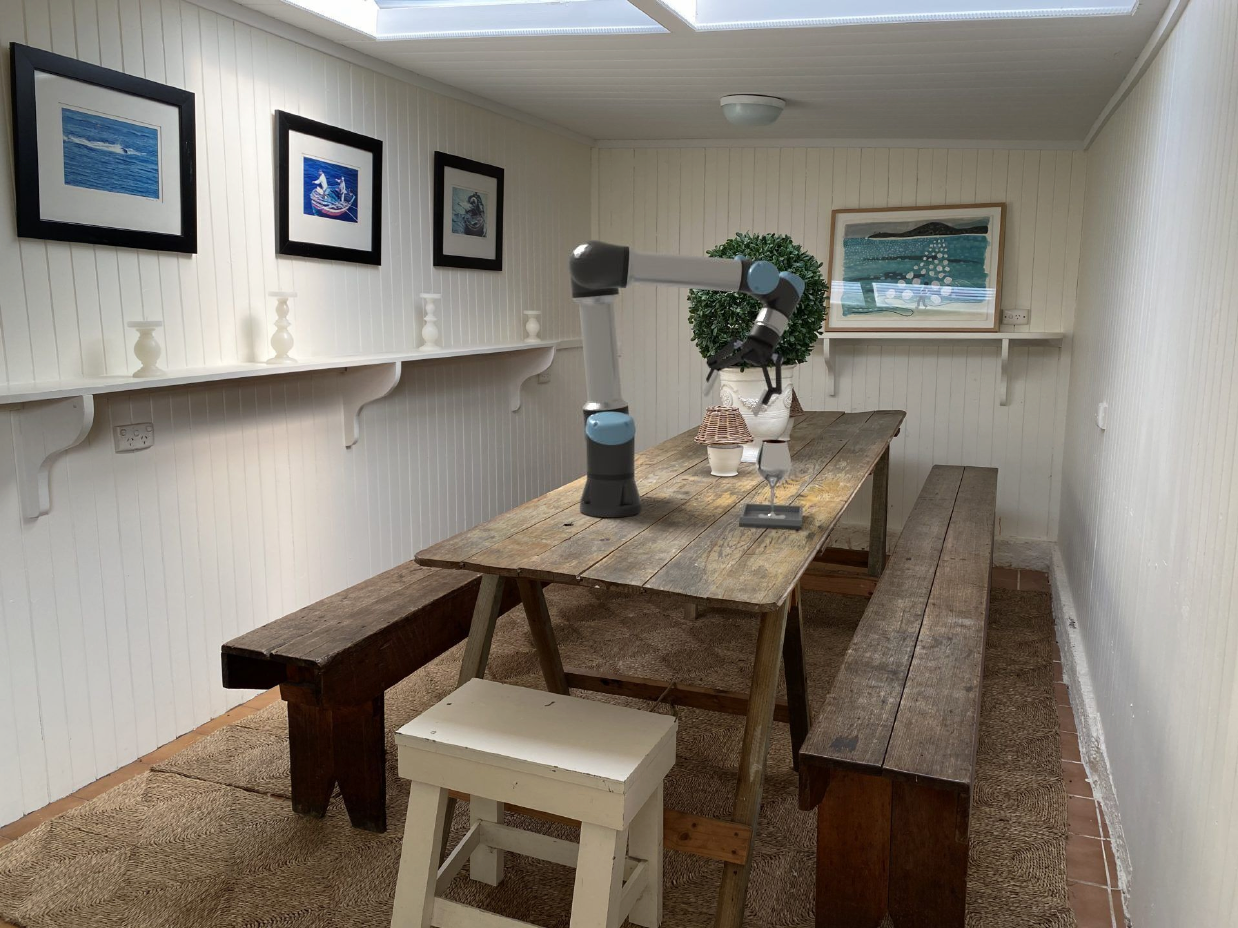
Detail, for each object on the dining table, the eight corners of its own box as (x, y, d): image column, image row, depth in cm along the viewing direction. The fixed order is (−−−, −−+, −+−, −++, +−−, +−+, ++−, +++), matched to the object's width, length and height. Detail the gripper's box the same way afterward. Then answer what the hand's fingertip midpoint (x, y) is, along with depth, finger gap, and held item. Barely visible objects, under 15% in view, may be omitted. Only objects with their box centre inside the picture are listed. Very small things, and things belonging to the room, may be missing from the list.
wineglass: (788, 522, 218) (791, 445, 215) (753, 520, 220) (755, 443, 217) (789, 513, 226) (792, 439, 223) (755, 512, 228) (757, 438, 224)
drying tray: (739, 526, 218) (739, 517, 217) (743, 512, 231) (744, 503, 231) (801, 529, 215) (801, 520, 215) (802, 514, 229) (802, 505, 228)
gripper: (814, 353, 236) (777, 428, 233) (724, 321, 245) (688, 392, 242) (812, 341, 229) (774, 417, 226) (720, 308, 238) (682, 381, 235)
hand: (729, 404), depth 234 cm, fingers open, 13 cm apart
